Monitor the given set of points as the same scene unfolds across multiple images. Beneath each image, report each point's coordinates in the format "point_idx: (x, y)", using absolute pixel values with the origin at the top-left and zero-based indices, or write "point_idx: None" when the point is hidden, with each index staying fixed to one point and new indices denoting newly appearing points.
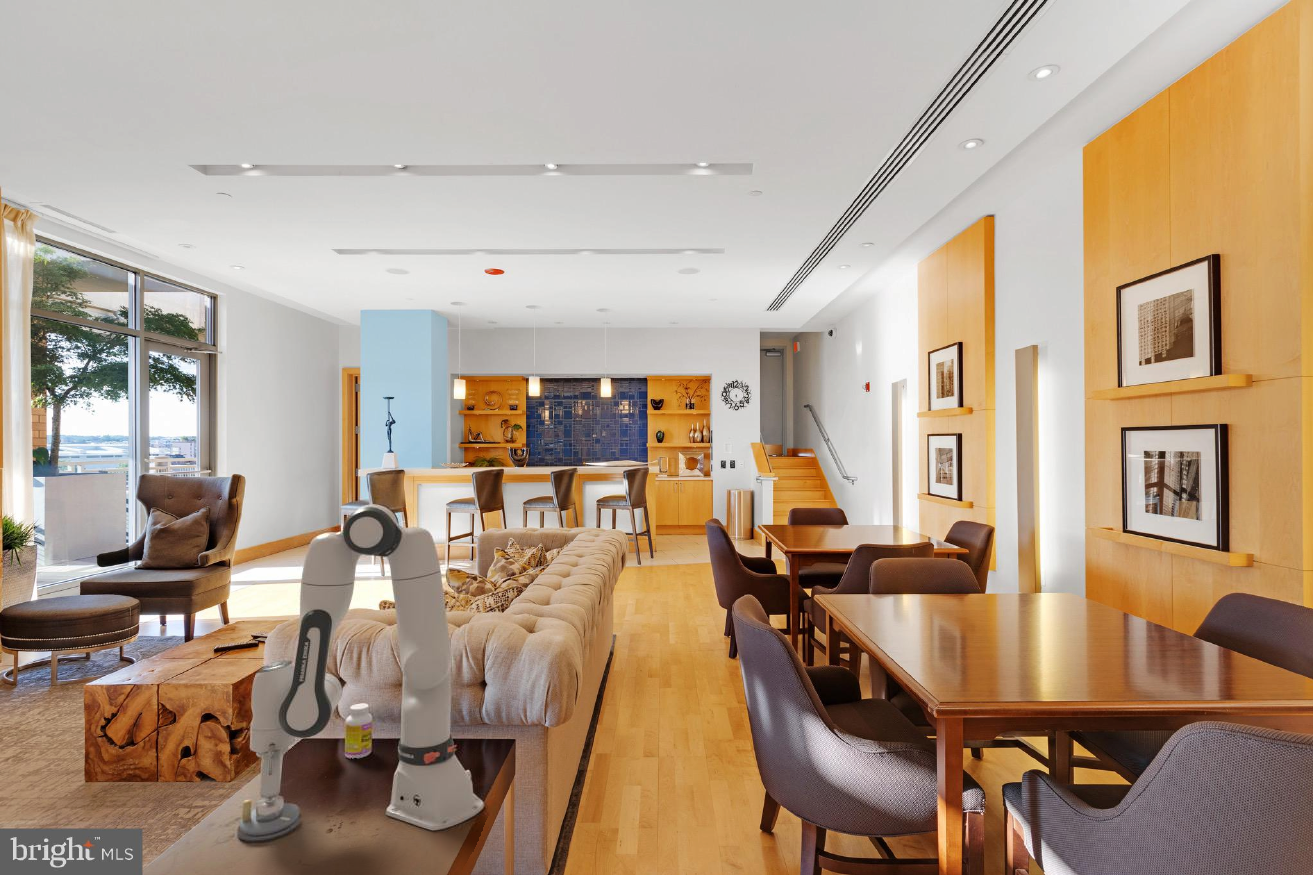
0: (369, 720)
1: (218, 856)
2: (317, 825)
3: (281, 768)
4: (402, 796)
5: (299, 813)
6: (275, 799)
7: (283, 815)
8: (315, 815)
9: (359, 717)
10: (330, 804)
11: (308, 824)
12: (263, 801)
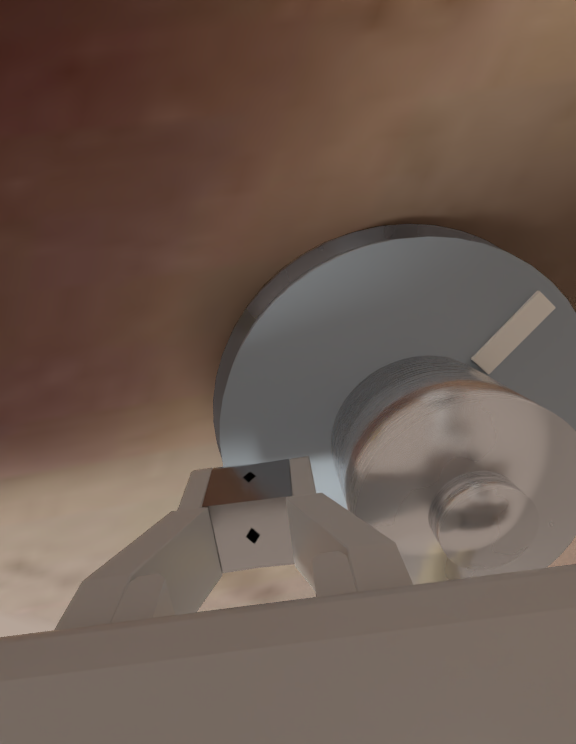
0: None
1: (565, 562)
2: (496, 94)
3: (45, 729)
4: None
5: (334, 245)
6: (453, 471)
7: (450, 349)
8: (328, 128)
9: None
10: (168, 6)
11: (449, 168)
12: (444, 558)
